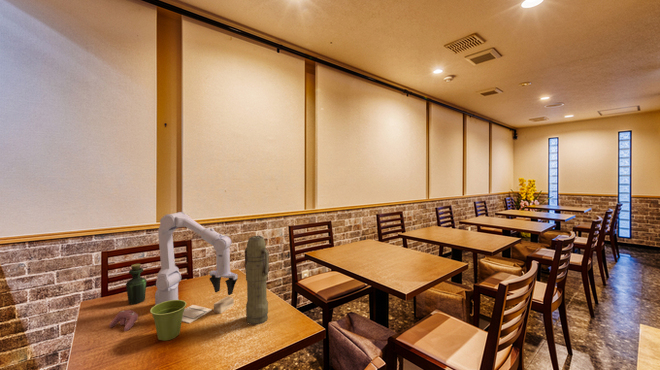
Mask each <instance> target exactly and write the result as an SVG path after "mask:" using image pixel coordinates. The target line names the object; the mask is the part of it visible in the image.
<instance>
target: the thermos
mask: <svg viewBox="0 0 660 370" xmlns="http://www.w3.org/2000/svg"><path fill="white" fill-rule="evenodd" d="M266 244H267V243H266V241H265V238H264V237H263V236H262V235H253V236H250V237H249V238H248V241H247V244H246V247H245V248H244V270H245V280H246V284H247V285H246V290H247V291H246V294H247V295H246V296H247V298H246V299H247V300H246V305H245V315H246V323H247V324H248V325H251V326H252V325H254V326H257V325H261V324H264V323H265V322H267V321H268V319H269V318H268V314H269V302H268V299H267V279H268V274H269V269H270V261H269V259H270V257H269V256H270V254H269V251H268V249H267V248H266Z"/></svg>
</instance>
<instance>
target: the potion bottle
mask: <svg viewBox="0 0 660 370" xmlns="http://www.w3.org/2000/svg"><path fill="white" fill-rule="evenodd" d="M141 266H142V264H141V263H135V264H131V266H130V267H131V269H130V270H129V271H128V274H129V275H131V277H132V278H131V279H129V280H128V281H127V282H126V284H125V288H126V294H127V296H126V297H127V301H128V304H129V305H137V304H138V305H139V304H142V303H143V302H144V301H145V300H146V290H147V279H146V278H144V277H141V275H142V274H141V273H143V272H144V268H142V267H141Z"/></svg>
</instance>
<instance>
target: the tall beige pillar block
mask: <svg viewBox="0 0 660 370" xmlns="http://www.w3.org/2000/svg"><path fill="white" fill-rule="evenodd" d="M234 300H235V299H234V297H231V296H225V297H223V298H221V299H219V300H218V301H216V302H214V303H213V312H214V313H216V314H219V315H220V314H223V313H225V312H226V311H227V310H229V309H231V308H232V307H234V306H235V305H234Z"/></svg>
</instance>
